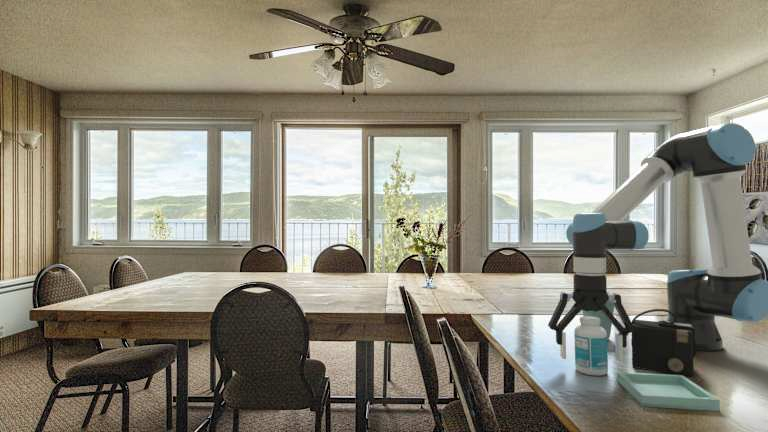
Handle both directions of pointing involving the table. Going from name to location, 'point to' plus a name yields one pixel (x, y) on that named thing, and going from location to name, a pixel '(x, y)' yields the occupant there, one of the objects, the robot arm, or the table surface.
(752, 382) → the table surface
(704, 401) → the tray
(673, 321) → the camera
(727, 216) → the robot arm
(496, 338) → the table surface
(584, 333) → the pill bottle
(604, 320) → the disposable coffee cup
